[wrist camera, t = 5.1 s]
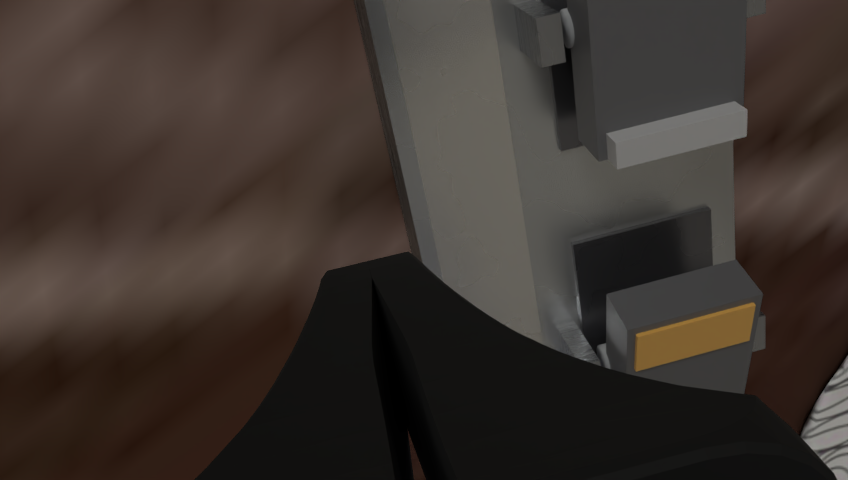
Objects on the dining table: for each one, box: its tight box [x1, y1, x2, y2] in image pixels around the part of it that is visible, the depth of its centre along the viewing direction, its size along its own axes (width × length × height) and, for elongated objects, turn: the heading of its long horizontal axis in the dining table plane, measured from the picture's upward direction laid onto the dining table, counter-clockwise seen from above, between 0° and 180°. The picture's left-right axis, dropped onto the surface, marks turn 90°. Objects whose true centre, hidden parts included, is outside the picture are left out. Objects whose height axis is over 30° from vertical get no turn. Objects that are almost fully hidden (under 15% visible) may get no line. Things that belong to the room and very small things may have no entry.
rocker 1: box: [560, 0, 747, 169], centre depth 16 cm, size 5×3×2 cm, turn 12°
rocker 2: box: [597, 260, 763, 394], centre depth 20 cm, size 5×3×2 cm, turn 12°
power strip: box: [354, 0, 766, 366], centre depth 18 cm, size 26×8×5 cm, turn 12°
